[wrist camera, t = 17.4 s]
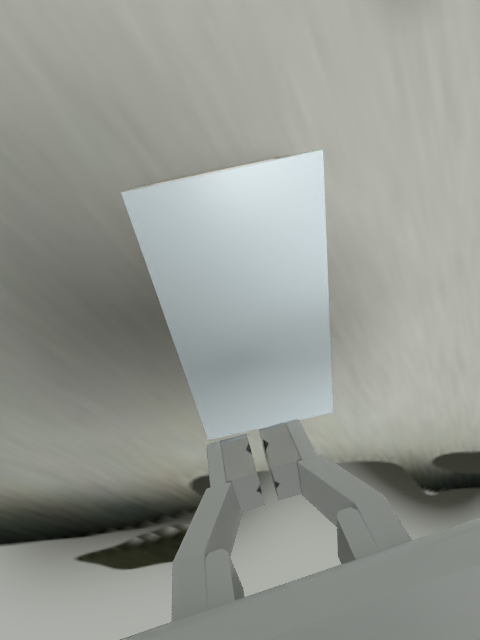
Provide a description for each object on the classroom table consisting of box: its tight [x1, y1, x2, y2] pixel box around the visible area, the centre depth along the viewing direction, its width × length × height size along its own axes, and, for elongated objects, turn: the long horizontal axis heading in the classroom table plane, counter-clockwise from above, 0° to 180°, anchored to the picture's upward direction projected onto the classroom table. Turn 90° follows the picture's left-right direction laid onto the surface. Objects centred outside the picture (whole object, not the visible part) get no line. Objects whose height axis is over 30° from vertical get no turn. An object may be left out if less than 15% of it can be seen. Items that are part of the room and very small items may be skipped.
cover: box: [121, 150, 333, 440], centre depth 19 cm, size 10×18×1 cm, turn 11°
